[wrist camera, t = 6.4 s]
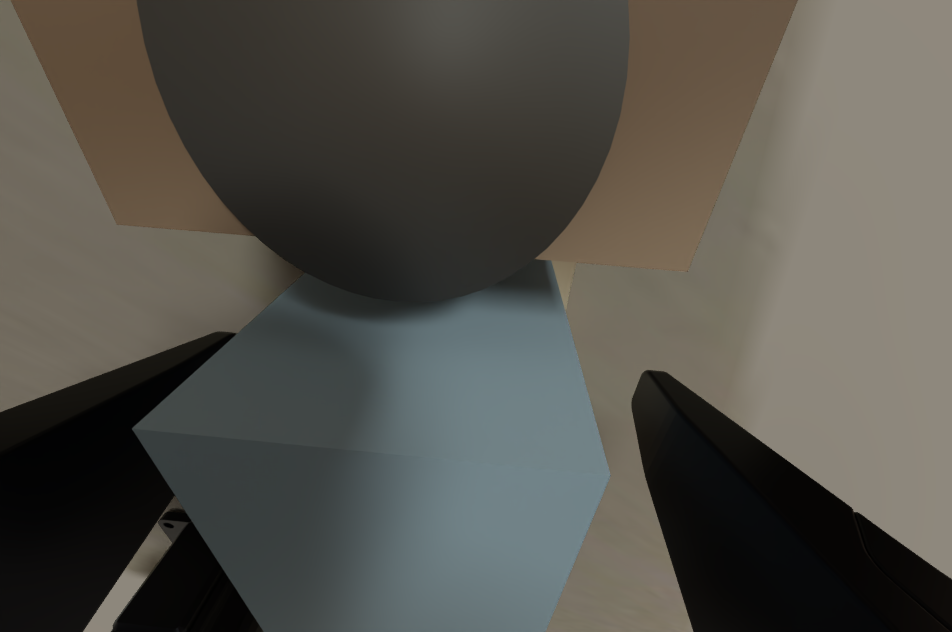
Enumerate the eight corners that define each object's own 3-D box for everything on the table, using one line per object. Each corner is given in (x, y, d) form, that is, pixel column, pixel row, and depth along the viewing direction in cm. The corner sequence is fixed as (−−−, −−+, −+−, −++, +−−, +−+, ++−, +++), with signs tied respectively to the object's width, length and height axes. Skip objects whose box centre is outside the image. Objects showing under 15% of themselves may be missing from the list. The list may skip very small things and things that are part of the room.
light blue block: (518, 397, 11) (529, 669, 6) (379, 384, 11) (268, 640, 6) (545, 236, 8) (609, 475, 3) (361, 222, 8) (131, 428, 3)
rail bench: (503, 564, 19) (503, 743, 14) (389, 552, 19) (346, 725, 14) (622, -5, 7) (972, -293, 2) (313, -25, 7) (-208, -343, 2)
